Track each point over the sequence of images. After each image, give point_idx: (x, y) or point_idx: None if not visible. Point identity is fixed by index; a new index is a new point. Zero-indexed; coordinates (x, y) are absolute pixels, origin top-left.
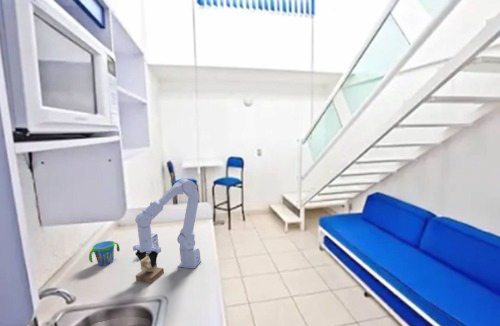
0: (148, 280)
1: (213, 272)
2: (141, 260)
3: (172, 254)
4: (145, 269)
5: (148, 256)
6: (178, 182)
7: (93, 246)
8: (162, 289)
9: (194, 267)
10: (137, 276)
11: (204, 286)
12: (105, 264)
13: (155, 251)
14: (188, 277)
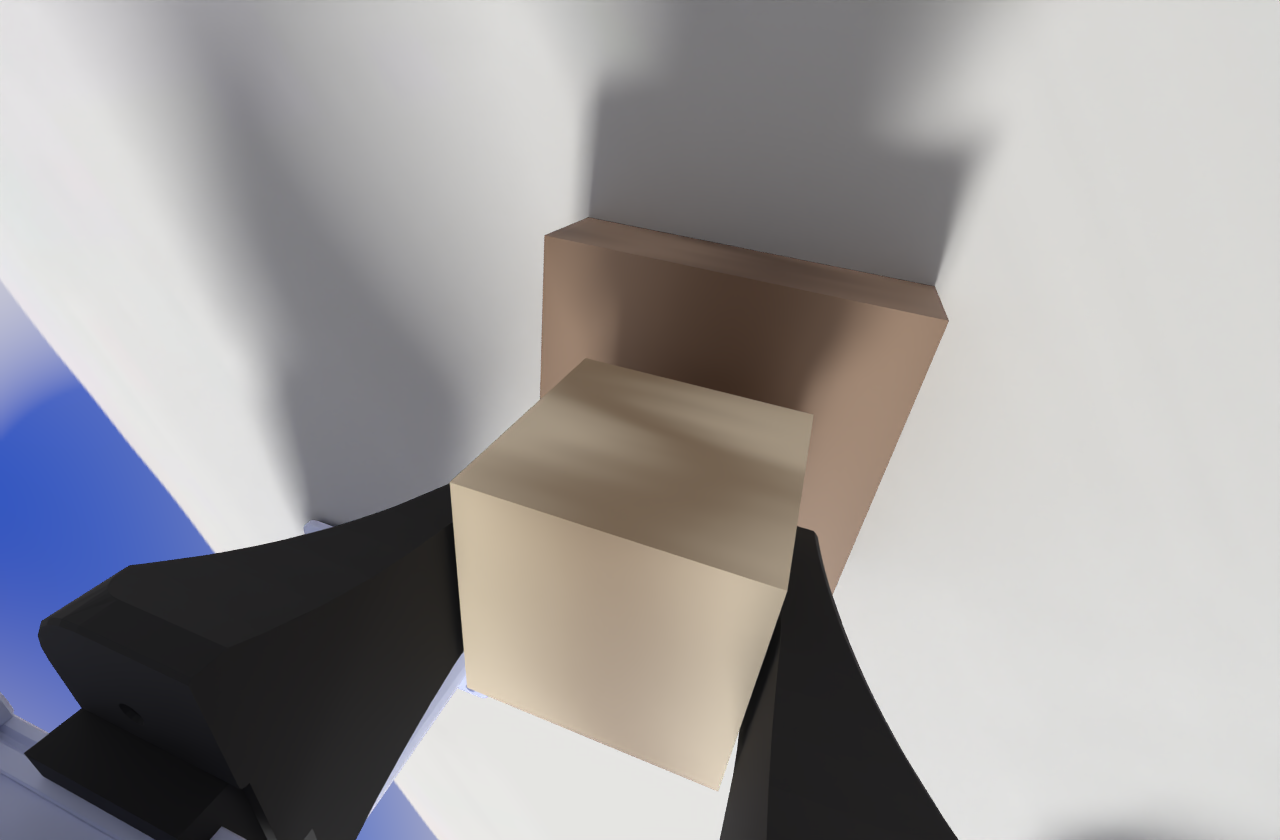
0: (636, 237)
1: (133, 438)
2: (746, 599)
3: (689, 814)
4: (685, 403)
5: (659, 751)
6: None
7: None
8: (334, 52)
9: (304, 530)
10: (892, 305)
11: (9, 191)
12: None
13: (53, 779)
14: (253, 365)
